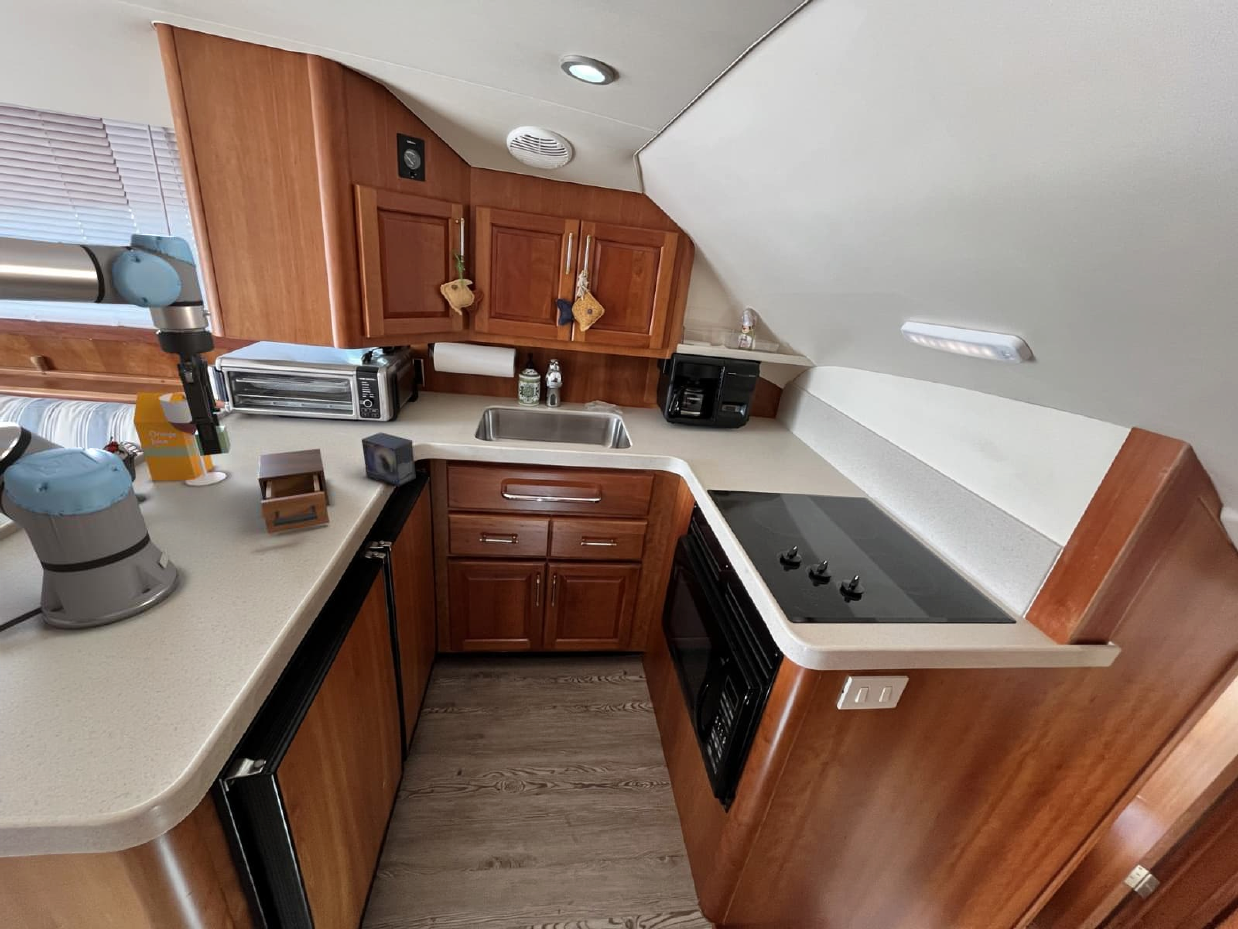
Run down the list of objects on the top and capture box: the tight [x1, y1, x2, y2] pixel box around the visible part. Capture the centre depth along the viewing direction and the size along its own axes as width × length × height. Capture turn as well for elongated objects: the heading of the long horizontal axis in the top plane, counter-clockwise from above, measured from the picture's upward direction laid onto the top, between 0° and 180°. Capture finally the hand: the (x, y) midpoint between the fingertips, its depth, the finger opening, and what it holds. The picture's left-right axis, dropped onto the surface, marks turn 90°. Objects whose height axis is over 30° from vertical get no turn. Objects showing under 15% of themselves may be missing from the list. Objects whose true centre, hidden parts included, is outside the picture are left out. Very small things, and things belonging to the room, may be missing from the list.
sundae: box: [102, 436, 147, 504], centre depth 101 cm, size 7×7×15 cm
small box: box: [361, 431, 417, 487], centre depth 122 cm, size 11×6×10 cm, turn 68°
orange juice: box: [132, 391, 214, 482], centre depth 113 cm, size 8×9×20 cm
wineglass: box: [159, 391, 227, 486], centre depth 112 cm, size 8×9×20 cm
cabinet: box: [257, 448, 330, 507], centre depth 110 cm, size 14×12×9 cm
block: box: [195, 424, 231, 456], centre depth 96 cm, size 4×4×4 cm
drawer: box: [260, 474, 330, 535], centre depth 100 cm, size 17×10×7 cm, turn 32°
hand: (214, 449), depth 97 cm, fingers closed on block, 4 cm apart
